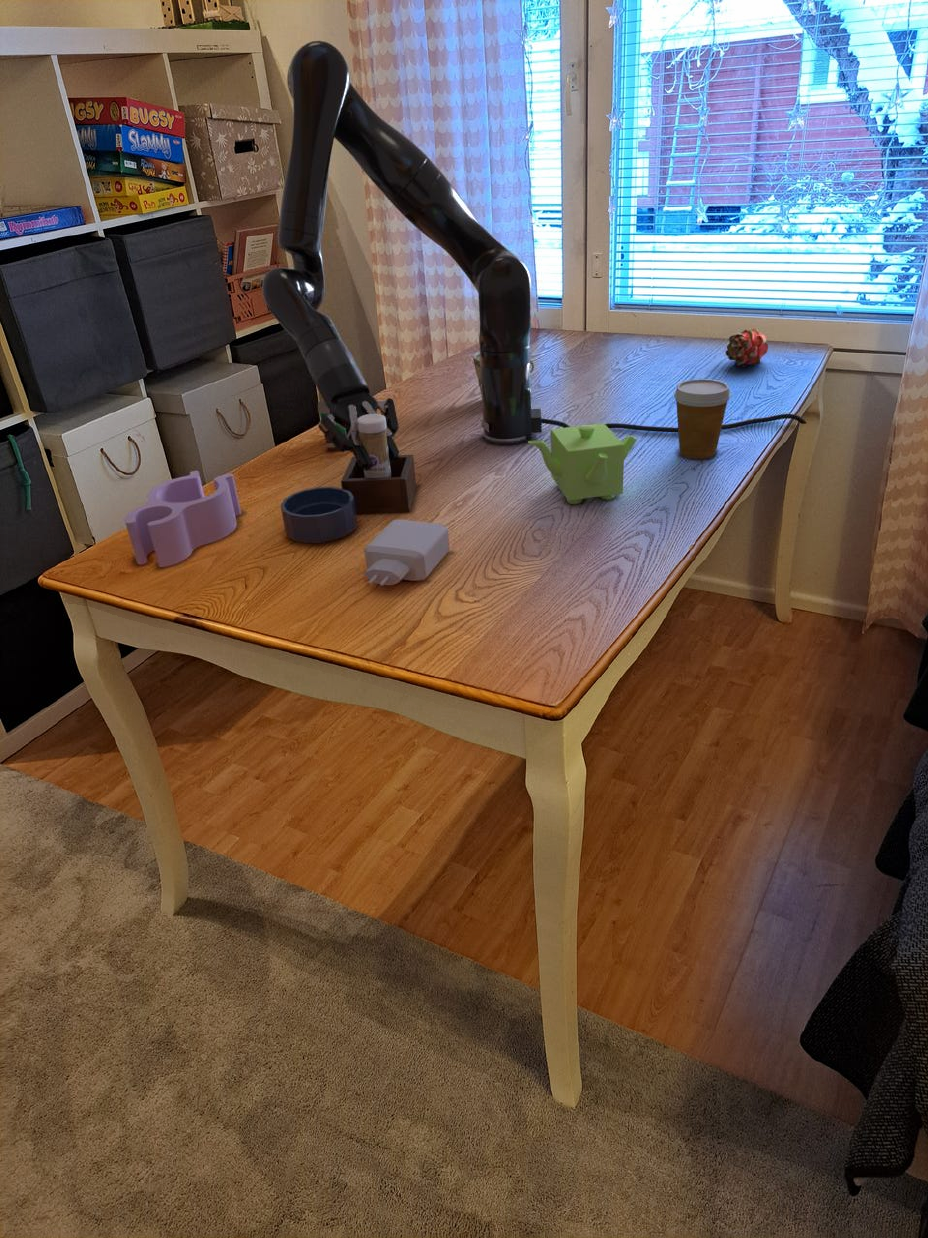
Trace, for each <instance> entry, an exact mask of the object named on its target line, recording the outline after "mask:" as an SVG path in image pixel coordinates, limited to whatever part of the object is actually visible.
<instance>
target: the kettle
mask: <svg viewBox="0 0 928 1238" xmlns="http://www.w3.org/2000/svg"><path fill="white" fill-rule="evenodd" d="M605 424H606V423H604V422H600V423H592V424H591V423H590V424H583V425H575V426H571V427H566V428H563V427H559V428H551V429H550V447H549V446H548V444H547V443H546V442H545V441H543V440H541V439H540V440H539V439H535V440H531V441H527V443H528V444H529V445H530V444H531V445H533V446H535V447H536V448H538V449H539V451H540V453H541V455H542V459H543V462H544V464H545V466H546V469H547V470H548V471H549V472H550V476H551V477H552V480H553V481H554V482H555V484H556V485H557V486H558V489H559V490H560V492H561V493H562V494H563V496H564V497H565V499H566V500H567V503H568V504H573V505H576V504H580V503H582V500H583V499H590V498H600V499H602V500H612V499H614V498H615V496H614V495H622V494H623V493H624V472H625V471H624V470H625V469H624V467H625V466H624V465H625V460H626V458H627V457H628V455H629V454H630V452H631V450H632V449H633V447H634V446H635V444H636V442H637V441H638V438H637V437H635V436H632V435H626V437H625V438H624V439H623V440H622V441H621V440H620V439H619V437H618V436H617V435H616V434H615V433H614V432H613V431H612V430H611V428H608V427H607V426H606V425H605Z"/></svg>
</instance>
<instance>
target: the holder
mask: <svg viewBox="0 0 928 1238" xmlns="http://www.w3.org/2000/svg"><path fill="white" fill-rule="evenodd" d="M390 468H391V477H381V478H365V474H364V468H361V467H360V466H359V464H358V462H357V460H356V458H355V456H352V457H351V458H350V461H349V463H348V465H347V468H346V469H345V472H344V474H343V475H342V478H341V480H340V484H341V488H343V489H345V490H347V491H350V492H351V493H352V495H353V497H354V501H355V508H356V515H359V514H361V515H362V514H386V513H387V514H388V513H390V514H393V513H410V511H411V507H412V503H413V500H414V496H415V492H416V489H417V478H416V468H415V458H414V455H413V454H399V455H398V459H397V461H396V462H393V463H391V462H390Z"/></svg>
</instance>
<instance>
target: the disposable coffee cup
mask: <svg viewBox="0 0 928 1238" xmlns="http://www.w3.org/2000/svg"><path fill="white" fill-rule="evenodd" d="M673 396H674V400H675V402H676V403H675V404H676V418H677V428H678V433H677V435H678V449H679V455H681V457H683V458H687V459H691V460H707V459H711V458H714V456H716V455H717V450H718V447H719V446H718V445H719V441H720V437H721V432H722V430H721V428H722V425H724V418H725V415H726V409H727V405H728V402H729V400H730V398H731V397H732V392H731V391H730V386H729V385H728V383H726V382H725V381H721V380H718V379H711V378H694V379H688V380H684V381H682V382H679V383H678V384H677V385H676V388H675V391H674V392H673ZM716 449H717V450H716Z"/></svg>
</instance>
